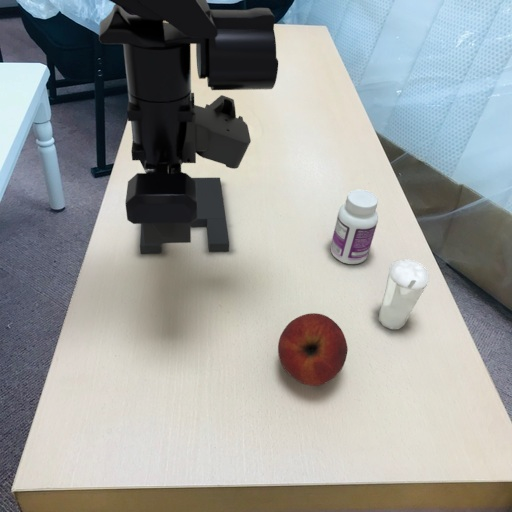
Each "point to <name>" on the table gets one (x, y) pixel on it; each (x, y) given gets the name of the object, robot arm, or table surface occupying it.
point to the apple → (312, 349)
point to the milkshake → (402, 292)
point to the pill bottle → (355, 227)
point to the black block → (179, 236)
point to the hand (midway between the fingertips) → (167, 221)
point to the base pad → (203, 217)
